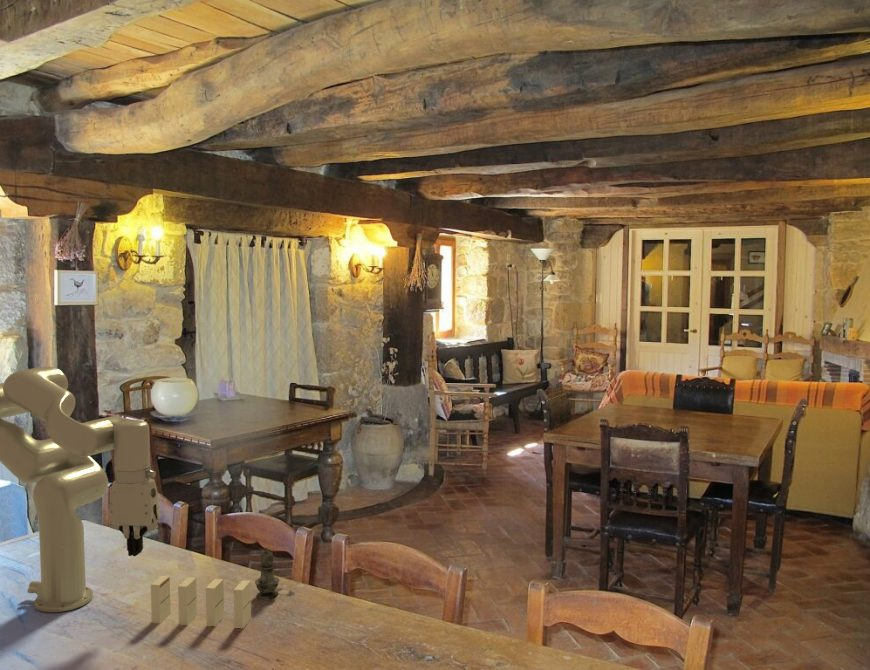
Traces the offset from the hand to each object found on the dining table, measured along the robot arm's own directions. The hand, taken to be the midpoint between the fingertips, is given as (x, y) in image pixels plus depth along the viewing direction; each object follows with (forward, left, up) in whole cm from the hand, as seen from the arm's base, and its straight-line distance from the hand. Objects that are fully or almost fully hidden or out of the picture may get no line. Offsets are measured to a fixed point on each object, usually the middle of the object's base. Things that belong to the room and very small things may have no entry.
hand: (135, 553), depth 170 cm
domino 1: (+6, 0, -15) cm, 16 cm away
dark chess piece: (+26, +15, -15) cm, 34 cm away
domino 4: (+25, 0, -15) cm, 29 cm away
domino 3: (+19, 0, -15) cm, 24 cm away
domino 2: (+12, 0, -15) cm, 19 cm away
